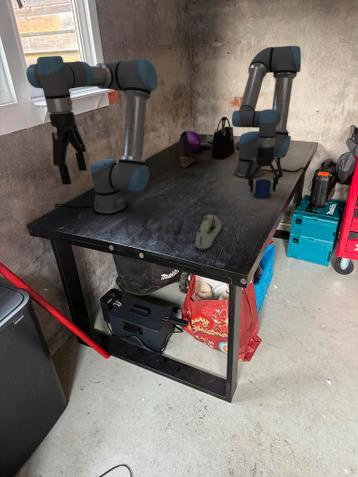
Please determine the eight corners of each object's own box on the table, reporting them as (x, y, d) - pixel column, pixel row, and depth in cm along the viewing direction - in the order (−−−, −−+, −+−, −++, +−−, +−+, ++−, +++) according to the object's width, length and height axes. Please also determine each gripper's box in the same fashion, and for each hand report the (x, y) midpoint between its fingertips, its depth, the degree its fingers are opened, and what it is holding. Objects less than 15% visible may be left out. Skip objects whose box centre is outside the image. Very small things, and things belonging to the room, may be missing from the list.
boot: (197, 157, 223) (197, 126, 213) (191, 168, 203) (190, 135, 193) (185, 157, 225) (183, 126, 215) (178, 168, 205) (176, 135, 195)
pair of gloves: (199, 151, 237) (198, 143, 234) (184, 143, 257) (184, 136, 255) (235, 144, 246) (235, 137, 244) (218, 138, 267) (218, 131, 264)
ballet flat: (225, 222, 139) (225, 205, 135) (213, 252, 119) (212, 233, 115) (205, 220, 141) (205, 203, 137) (190, 250, 121) (189, 231, 117)
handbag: (222, 159, 215) (223, 120, 203) (210, 158, 220) (210, 119, 207) (235, 151, 230) (236, 114, 218) (223, 150, 234) (224, 113, 222)
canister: (252, 194, 164) (252, 180, 160) (264, 191, 166) (265, 178, 162) (260, 199, 158) (261, 185, 154) (272, 196, 160) (274, 182, 156)
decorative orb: (204, 151, 235) (204, 129, 228) (194, 156, 225) (193, 134, 217) (186, 149, 243) (186, 128, 235) (175, 154, 232) (174, 132, 224)
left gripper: (54, 119, 92) (70, 190, 102) (87, 105, 113) (98, 165, 124) (29, 120, 93) (48, 190, 104) (66, 106, 114) (79, 165, 125)
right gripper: (242, 149, 147) (240, 195, 158) (294, 146, 146) (288, 193, 158) (239, 145, 153) (237, 190, 164) (288, 142, 153) (283, 187, 164)
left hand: (75, 177), depth 114 cm, fingers open, 13 cm apart
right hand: (262, 191), depth 161 cm, fingers open, 10 cm apart
